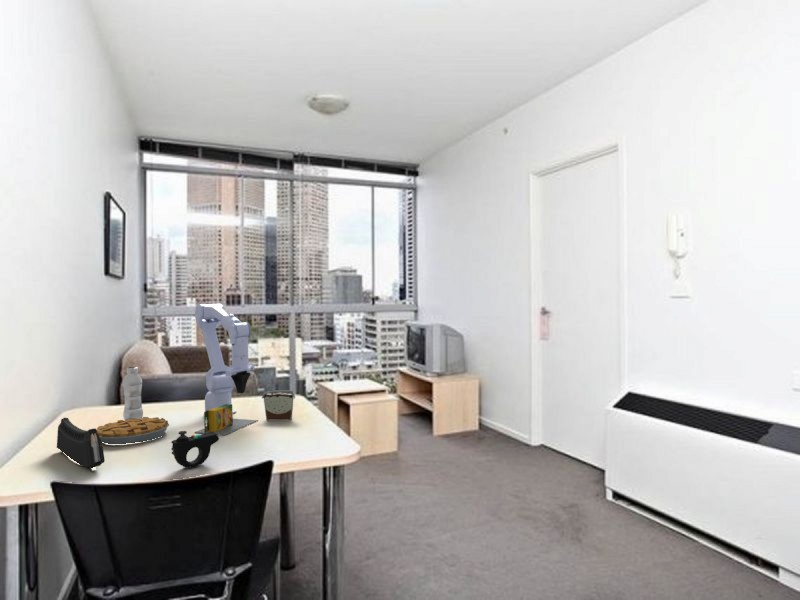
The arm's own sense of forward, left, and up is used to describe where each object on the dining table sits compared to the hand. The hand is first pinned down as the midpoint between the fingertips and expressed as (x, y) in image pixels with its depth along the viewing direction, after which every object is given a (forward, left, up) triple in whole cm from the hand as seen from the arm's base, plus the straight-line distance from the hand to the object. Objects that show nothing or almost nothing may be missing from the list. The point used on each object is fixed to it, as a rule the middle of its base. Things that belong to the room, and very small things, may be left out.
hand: (240, 392), depth 184 cm
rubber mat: (0, -8, -10) cm, 13 cm away
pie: (-23, -27, -11) cm, 37 cm away
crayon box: (0, -6, -6) cm, 9 cm away
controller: (+17, -45, -11) cm, 49 cm away
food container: (+12, +7, -11) cm, 18 cm away
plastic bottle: (-40, -10, -11) cm, 42 cm away
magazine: (-18, -50, -11) cm, 54 cm away
